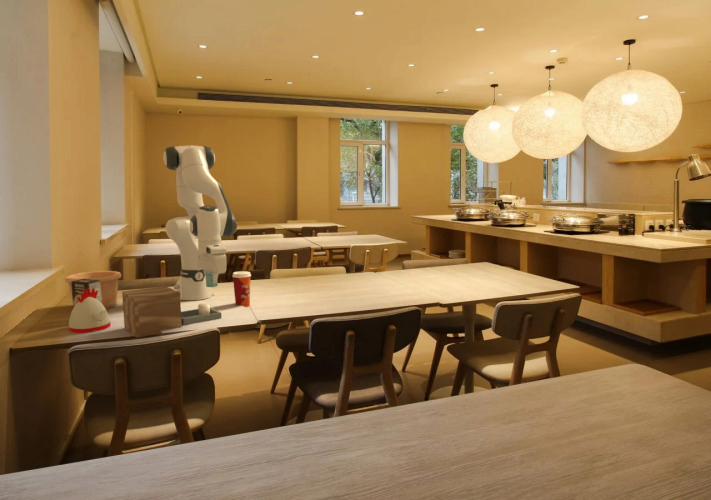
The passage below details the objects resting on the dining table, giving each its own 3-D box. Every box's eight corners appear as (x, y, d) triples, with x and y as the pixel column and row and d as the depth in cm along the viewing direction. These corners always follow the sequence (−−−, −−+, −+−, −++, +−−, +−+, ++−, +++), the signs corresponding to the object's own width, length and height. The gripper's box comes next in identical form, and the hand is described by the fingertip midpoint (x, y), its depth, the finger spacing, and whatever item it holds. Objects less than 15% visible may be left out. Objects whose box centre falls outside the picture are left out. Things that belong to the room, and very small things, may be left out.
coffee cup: (247, 308, 215) (246, 274, 213) (230, 307, 216) (228, 274, 214) (255, 304, 223) (254, 271, 221) (238, 303, 224) (237, 270, 222)
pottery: (73, 303, 226) (71, 272, 225) (126, 299, 233) (124, 269, 231) (61, 314, 206) (58, 281, 204) (119, 310, 213) (117, 277, 211)
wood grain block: (124, 327, 186) (122, 291, 184) (167, 320, 196) (165, 285, 194) (136, 337, 174) (134, 299, 172) (181, 329, 184) (179, 292, 182)
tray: (173, 320, 195) (172, 313, 195) (209, 314, 205) (209, 307, 204) (183, 327, 186) (183, 319, 186) (221, 320, 196) (221, 312, 195)
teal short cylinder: (204, 285, 197) (203, 273, 196) (214, 284, 200) (214, 272, 199) (208, 287, 194) (208, 275, 193) (219, 286, 196) (218, 273, 196)
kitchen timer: (118, 325, 190) (115, 287, 188) (86, 335, 178) (83, 294, 176) (93, 321, 196) (90, 284, 194) (60, 330, 184) (57, 291, 182)
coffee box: (73, 320, 197) (69, 281, 195) (86, 316, 203) (83, 278, 201) (90, 322, 194) (87, 282, 192) (104, 318, 200) (101, 279, 198)
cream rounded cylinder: (197, 316, 198) (196, 304, 197) (207, 315, 200) (207, 302, 200) (201, 319, 194) (200, 306, 194) (212, 317, 197) (211, 304, 196)
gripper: (191, 245, 200) (193, 279, 202) (213, 250, 185) (214, 286, 187) (206, 244, 205) (208, 277, 206) (228, 249, 189) (230, 284, 191)
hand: (211, 281), depth 196 cm, fingers closed on teal short cylinder, 4 cm apart
